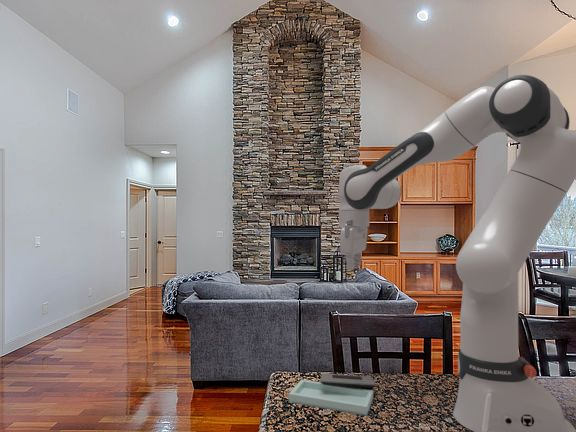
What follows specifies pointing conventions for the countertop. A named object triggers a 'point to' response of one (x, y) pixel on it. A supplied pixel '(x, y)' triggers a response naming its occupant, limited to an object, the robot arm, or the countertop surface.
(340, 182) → the robot arm
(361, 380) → the electrical outlet
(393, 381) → the countertop surface
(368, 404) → the parts tray
